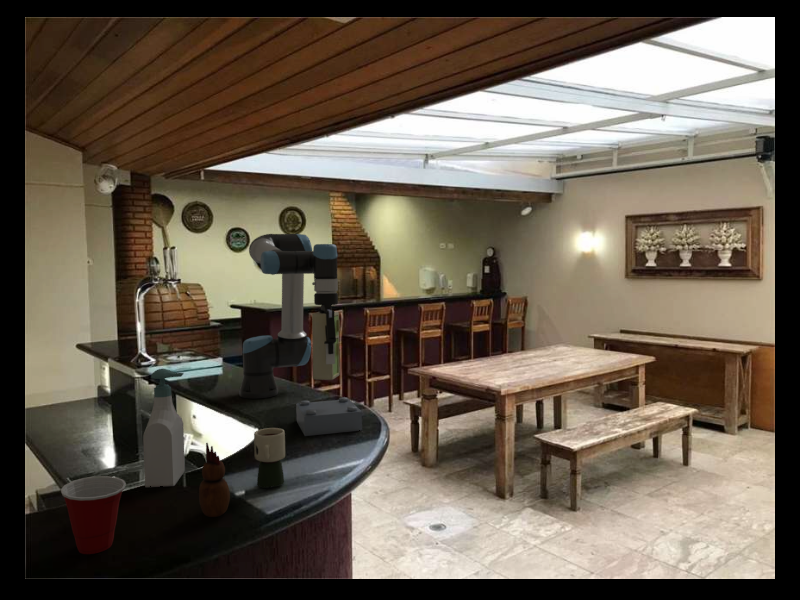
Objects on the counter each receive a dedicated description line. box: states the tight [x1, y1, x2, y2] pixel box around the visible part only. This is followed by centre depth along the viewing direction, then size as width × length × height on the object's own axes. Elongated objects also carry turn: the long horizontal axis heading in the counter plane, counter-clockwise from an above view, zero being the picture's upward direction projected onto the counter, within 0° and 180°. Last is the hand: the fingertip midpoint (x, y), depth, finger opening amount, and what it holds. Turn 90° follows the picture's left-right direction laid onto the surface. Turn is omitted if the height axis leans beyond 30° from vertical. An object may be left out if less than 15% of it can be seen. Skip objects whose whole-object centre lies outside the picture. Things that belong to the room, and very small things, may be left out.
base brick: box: [295, 396, 363, 437], centre depth 191 cm, size 18×18×7 cm
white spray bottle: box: [142, 368, 186, 488], centre depth 145 cm, size 11×8×27 cm
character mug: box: [253, 427, 286, 489], centre depth 140 cm, size 11×7×13 cm, turn 4°
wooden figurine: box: [198, 442, 231, 518], centre depth 124 cm, size 7×6×15 cm
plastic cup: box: [60, 475, 127, 555], centre depth 110 cm, size 11×11×12 cm
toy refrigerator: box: [311, 311, 341, 381], centre depth 190 cm, size 8×7×21 cm
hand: (327, 361), depth 190 cm, fingers closed on toy refrigerator, 10 cm apart
